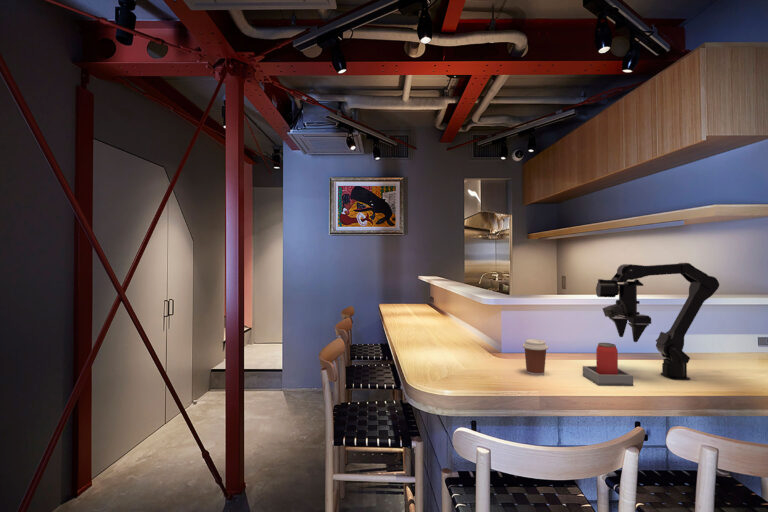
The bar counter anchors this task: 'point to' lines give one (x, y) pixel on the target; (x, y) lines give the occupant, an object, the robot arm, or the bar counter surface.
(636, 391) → the bar counter surface
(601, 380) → the tray
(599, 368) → the beer can
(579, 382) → the bar counter surface
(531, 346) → the coffee cup
